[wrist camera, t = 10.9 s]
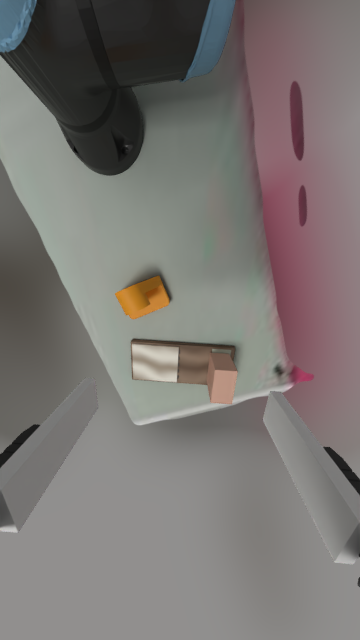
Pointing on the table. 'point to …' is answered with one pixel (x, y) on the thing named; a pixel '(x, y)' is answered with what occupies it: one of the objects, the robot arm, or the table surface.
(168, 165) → the table surface
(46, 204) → the table surface
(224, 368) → the stub
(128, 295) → the bracket
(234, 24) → the table surface
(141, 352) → the board
